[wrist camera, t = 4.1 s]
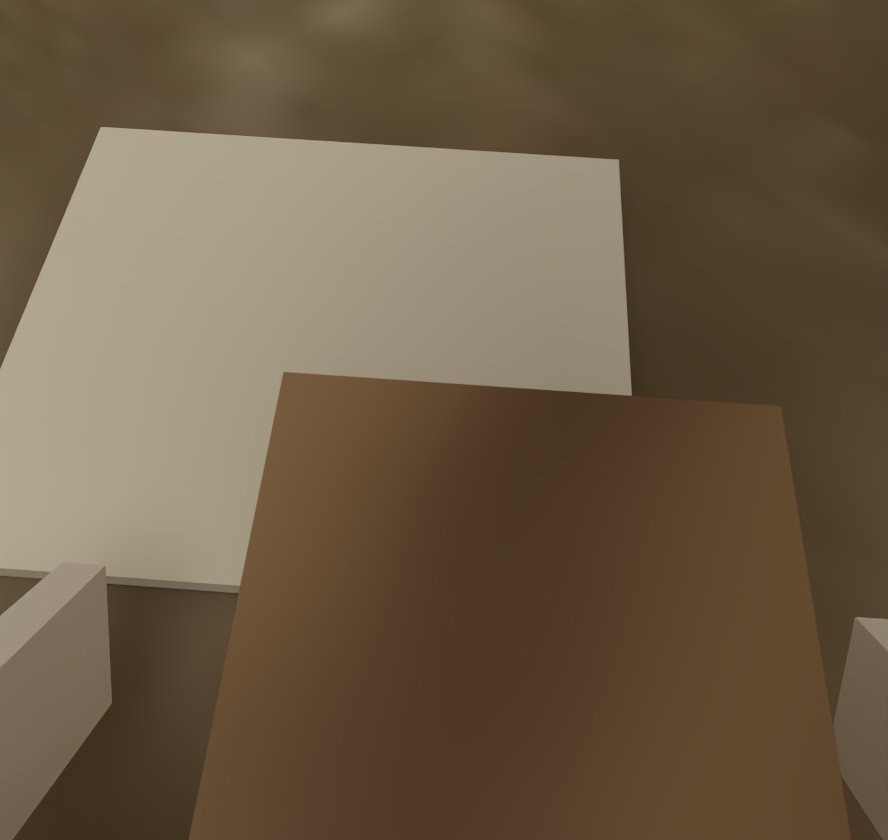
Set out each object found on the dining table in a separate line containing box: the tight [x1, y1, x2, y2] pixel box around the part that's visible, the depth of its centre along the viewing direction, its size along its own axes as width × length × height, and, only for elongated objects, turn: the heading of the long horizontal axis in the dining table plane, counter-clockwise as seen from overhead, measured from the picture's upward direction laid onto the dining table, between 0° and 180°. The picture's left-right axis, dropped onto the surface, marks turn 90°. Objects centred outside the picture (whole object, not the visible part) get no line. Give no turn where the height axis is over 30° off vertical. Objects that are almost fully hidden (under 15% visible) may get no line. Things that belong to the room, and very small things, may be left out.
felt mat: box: [0, 127, 632, 593], centre depth 25 cm, size 18×16×1 cm
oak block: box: [188, 372, 852, 840], centre depth 14 cm, size 6×6×12 cm
